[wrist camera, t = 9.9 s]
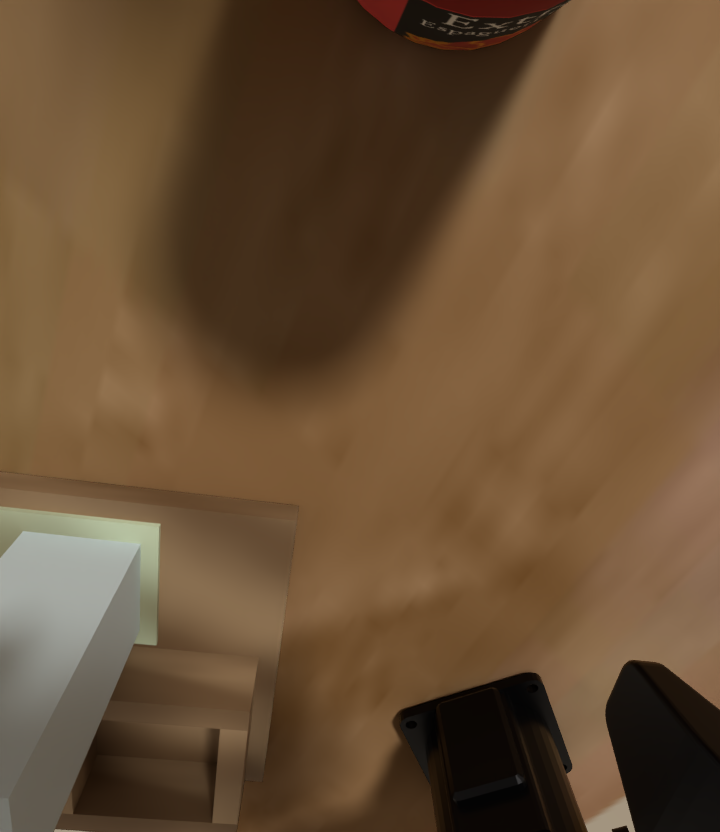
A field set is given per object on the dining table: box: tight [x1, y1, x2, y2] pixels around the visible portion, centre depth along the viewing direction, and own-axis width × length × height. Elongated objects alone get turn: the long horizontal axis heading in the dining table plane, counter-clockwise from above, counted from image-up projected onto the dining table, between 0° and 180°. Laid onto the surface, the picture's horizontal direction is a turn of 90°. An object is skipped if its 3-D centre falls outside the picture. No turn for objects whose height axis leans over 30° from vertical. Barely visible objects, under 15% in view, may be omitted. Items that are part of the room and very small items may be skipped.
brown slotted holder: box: [0, 472, 299, 832], centre depth 22 cm, size 14×11×4 cm
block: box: [0, 531, 141, 832], centre depth 17 cm, size 4×4×9 cm
